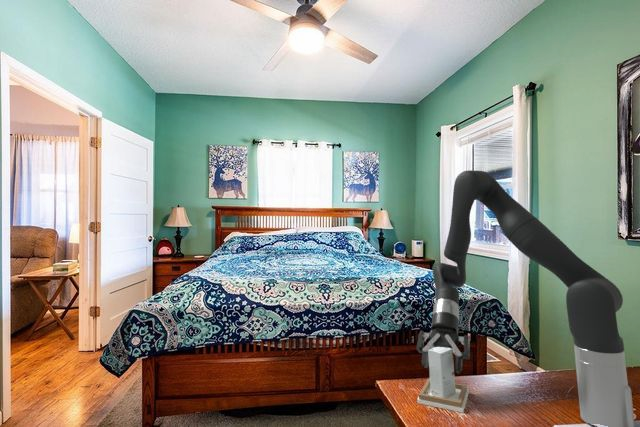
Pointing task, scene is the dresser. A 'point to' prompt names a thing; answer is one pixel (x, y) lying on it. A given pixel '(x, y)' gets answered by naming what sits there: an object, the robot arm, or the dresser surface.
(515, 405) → the dresser surface
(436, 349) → the skincare box
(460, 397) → the tray
